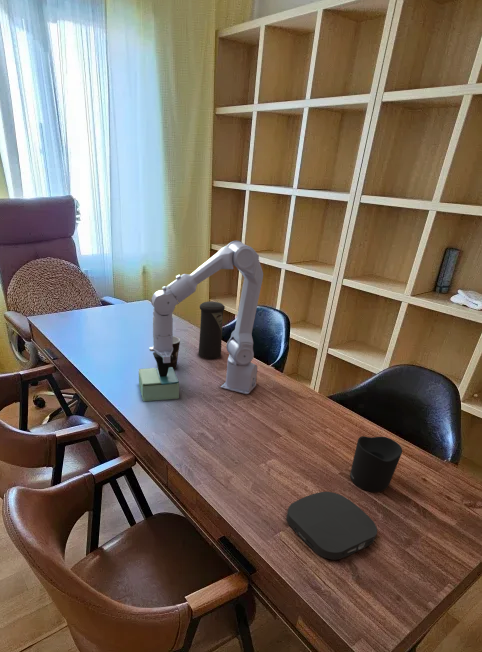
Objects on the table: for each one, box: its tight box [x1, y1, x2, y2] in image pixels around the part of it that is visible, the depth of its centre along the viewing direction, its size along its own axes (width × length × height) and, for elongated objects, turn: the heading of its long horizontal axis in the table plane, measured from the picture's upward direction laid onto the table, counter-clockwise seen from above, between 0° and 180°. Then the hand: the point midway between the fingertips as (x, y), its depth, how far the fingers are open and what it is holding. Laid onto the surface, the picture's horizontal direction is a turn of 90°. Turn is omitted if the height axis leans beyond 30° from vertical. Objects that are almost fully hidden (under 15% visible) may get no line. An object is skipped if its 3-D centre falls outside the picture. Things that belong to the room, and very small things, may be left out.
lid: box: [156, 367, 180, 385], centre depth 132 cm, size 5×11×1 cm, turn 13°
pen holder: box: [349, 435, 403, 493], centre depth 97 cm, size 9×9×10 cm
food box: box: [138, 367, 180, 402], centre depth 133 cm, size 11×11×6 cm
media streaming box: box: [286, 491, 378, 561], centre depth 85 cm, size 15×15×3 cm
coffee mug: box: [169, 335, 181, 370], centre depth 149 cm, size 12×9×10 cm
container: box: [198, 300, 225, 360], centre depth 156 cm, size 9×9×20 cm
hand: (163, 375), depth 132 cm, fingers closed, pressing on lid
